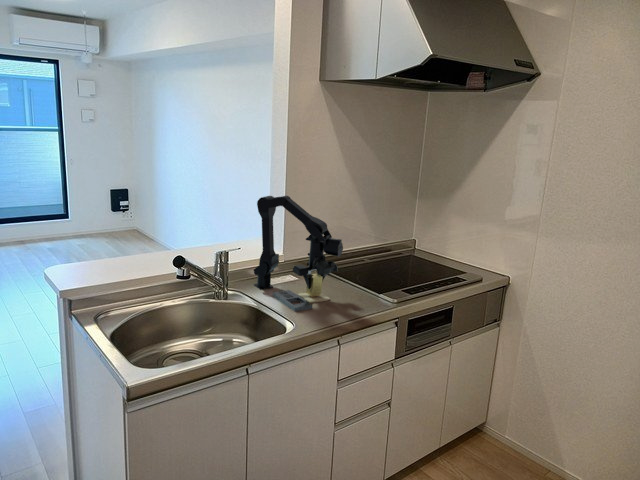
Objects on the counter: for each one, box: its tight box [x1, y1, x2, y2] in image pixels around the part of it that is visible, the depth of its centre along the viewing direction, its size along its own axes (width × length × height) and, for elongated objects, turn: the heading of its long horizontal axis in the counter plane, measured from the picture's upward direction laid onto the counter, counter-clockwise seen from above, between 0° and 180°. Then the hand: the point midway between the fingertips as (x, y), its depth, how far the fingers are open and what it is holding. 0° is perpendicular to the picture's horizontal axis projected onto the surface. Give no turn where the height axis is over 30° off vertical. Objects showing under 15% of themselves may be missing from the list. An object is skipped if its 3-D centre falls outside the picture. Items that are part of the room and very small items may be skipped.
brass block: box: [305, 273, 323, 296], centre depth 204 cm, size 4×4×8 cm
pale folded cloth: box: [297, 292, 331, 304], centre depth 205 cm, size 10×10×1 cm
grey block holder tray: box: [272, 289, 313, 312], centre depth 198 cm, size 18×8×2 cm, turn 34°
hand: (313, 288), depth 204 cm, fingers closed on brass block, 4 cm apart
